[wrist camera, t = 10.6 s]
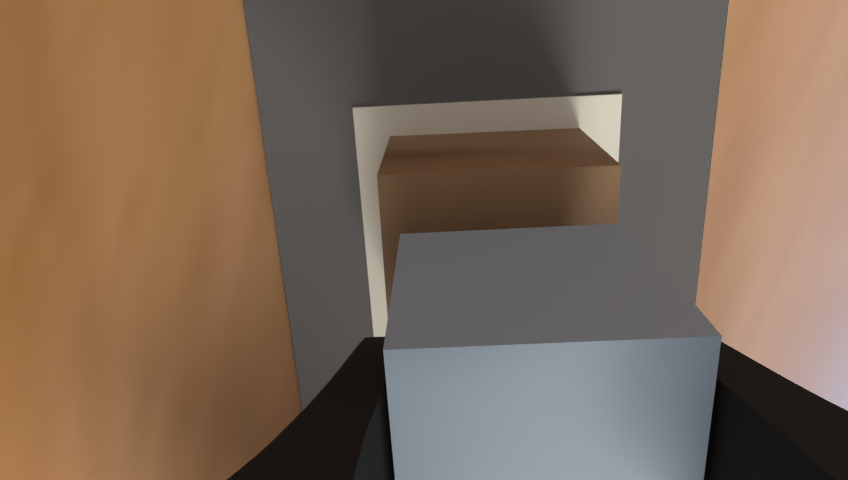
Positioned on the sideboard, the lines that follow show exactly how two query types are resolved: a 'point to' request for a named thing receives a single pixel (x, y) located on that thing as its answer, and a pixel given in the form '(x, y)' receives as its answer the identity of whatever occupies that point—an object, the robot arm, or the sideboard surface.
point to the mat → (468, 125)
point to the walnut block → (492, 184)
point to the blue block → (545, 359)
